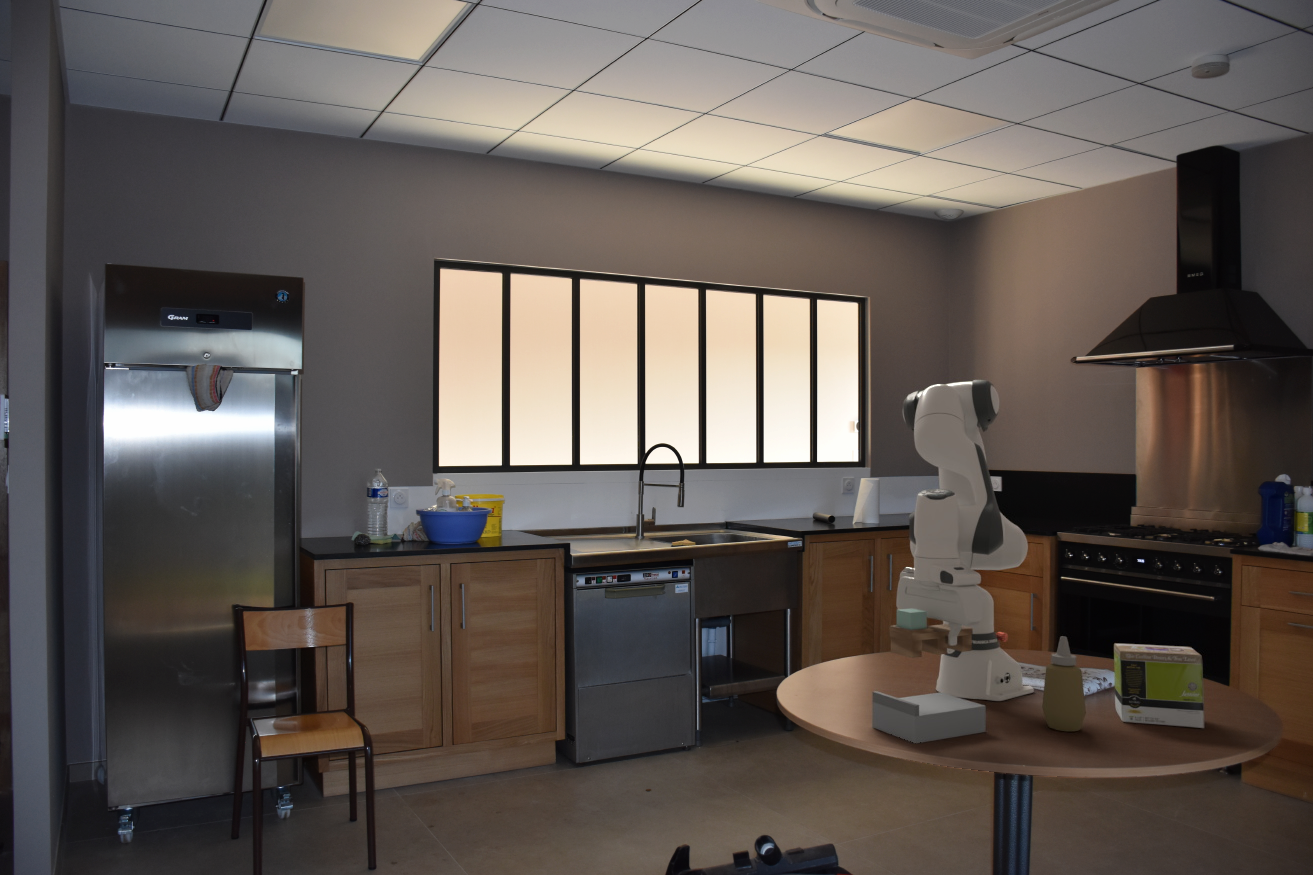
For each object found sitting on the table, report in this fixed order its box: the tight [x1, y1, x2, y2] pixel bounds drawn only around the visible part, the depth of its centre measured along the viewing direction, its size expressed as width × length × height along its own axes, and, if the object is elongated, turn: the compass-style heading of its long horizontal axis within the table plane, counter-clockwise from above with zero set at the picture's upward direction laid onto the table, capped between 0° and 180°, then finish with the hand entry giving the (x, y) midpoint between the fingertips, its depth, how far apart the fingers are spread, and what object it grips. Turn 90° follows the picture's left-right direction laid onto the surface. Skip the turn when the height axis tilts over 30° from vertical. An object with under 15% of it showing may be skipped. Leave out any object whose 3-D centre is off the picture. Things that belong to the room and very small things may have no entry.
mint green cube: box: [896, 608, 928, 630], centre depth 182 cm, size 4×4×4 cm
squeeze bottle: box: [1041, 635, 1087, 732], centre depth 185 cm, size 8×8×18 cm
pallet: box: [889, 623, 973, 659], centre depth 184 cm, size 16×6×5 cm, turn 117°
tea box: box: [1113, 642, 1205, 729], centre depth 192 cm, size 15×10×15 cm, turn 71°
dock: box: [871, 690, 987, 744], centre depth 184 cm, size 18×12×7 cm, turn 117°
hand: (937, 641), depth 185 cm, fingers closed on pallet, 6 cm apart
